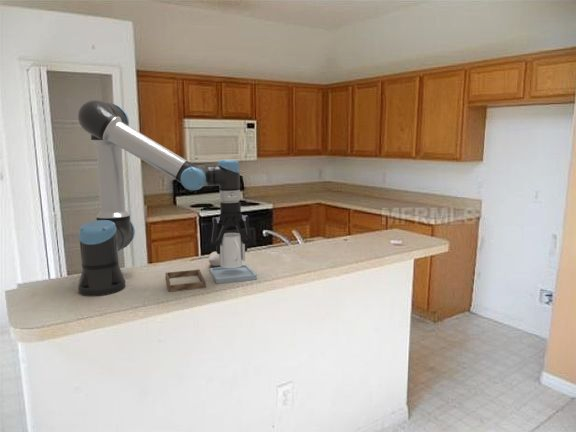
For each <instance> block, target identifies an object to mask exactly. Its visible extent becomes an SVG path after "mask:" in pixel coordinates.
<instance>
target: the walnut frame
mask: <svg viewBox="0 0 576 432" xmlns="http://www.w3.org/2000/svg"><path fill="white" fill-rule="evenodd" d="M190 275H194V276H197V277H198V279H199V281H197V282H188V283H178V284H177V283H175V284H171V281H170V279H174V277H175V278H182V277H181V276H185V277H191V276H190ZM165 280H166V285H167V289H168V290H167V291H168V293H169V292H176V291H177V292H178V291H186V290H194V289H202V288H206V284H207V283H206V280H205V278H204V276H203V274H202V272H201V270H200V269H199V268H198V269H190V270H180V271H178V270H177V271H172V272H171V271H169V272H165Z"/></svg>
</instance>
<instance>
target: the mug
mask: <svg viewBox="0 0 576 432" xmlns="http://www.w3.org/2000/svg"><path fill="white" fill-rule="evenodd" d="M241 243H242V238H241V235H240V234H239V232H225V233H224V236H223V239H222V241H221V244H220V245H222V253H223V263H221V264H220V265H219V267H222V268H238V267H241V266H242V265H244V263H243V260H242V248H241Z"/></svg>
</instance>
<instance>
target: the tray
mask: <svg viewBox="0 0 576 432" xmlns="http://www.w3.org/2000/svg"><path fill="white" fill-rule="evenodd" d="M209 274H210V276H211V277H212V279H213V280H214V282H215V283H216V285H220V284H221V285H222V284H229V283H237V282H246V281H256V280H257V279H258V277H257V276H258V275H257V273H256V272H255V271H254V270H253V269H252V268H251V267H250V266H249V265H248V264H243V265H242V266H241V267H238V268H222V267H221V266H217V267H211V268H209Z"/></svg>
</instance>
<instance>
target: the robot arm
mask: <svg viewBox="0 0 576 432" xmlns="http://www.w3.org/2000/svg"><path fill="white" fill-rule="evenodd" d="M77 120H78V123H79V125H80V126H81V128H82V129H83V130H84V132H86V133H87V134H90V141H91V142H92V144H94V145H95V146H96V148H95V149H96V162H97V175H98V176H97V177H98V178H97V179H98V192H99V193H98V194H99V205H100V206H99V207H100V209H99V210H100V211H99V212H98V214H96V216H95V217H96V220H93V221H88V222H86V223H84V224H82V225H81V226H80V227H79V230H78V240H79V249H80V259H81V260H80V261H81V274H80V277H79V281H78V285H77V288H78V289H77V290H78V294H80V295H83V296H88V297H89V296H92V297H95V296H96V297H97V296H107V295H111V294H113V293H114V294H115V293H117V292H120V291H123V290H124V289H125V288H126V279H125V276H124V275H123V272H122V270H121V268H120V265H119V264H120V263H119V251H121V250H122V249H124V248H127V247H128V246H129V245H130V244H131V242H133V240H134V238H135V232H136V230H135V226H134V223H133V222H132V221H131V214H130V213H129V212H128V211H127V210H126V201H125V184H124V183H125V182H124V166H123V150H124V151H126V152H128V153H129V154H130V155H133V156H135V157H136V158H138V159H140V160H141V161H143V162H145V163H147V164H149V166H152V167H154V168H155V169H157V170H158V171H160V172H161V173H162V172H163V173H164V174H166V175H167V176H169V177H171V178H172V179H174V180H175V181H177V182H179V183H180V184H181V185H182V186H183V188H184V189H186V190H189V191H199V190H201V189H202V188H204V187H216V186H219V200H220V203H219V205H220V206H219V207H220V214H219V216H218V217H217V216H216V217H212V219H211V220H212V230H211V231H212V232H211V237H210V243H211V244H212V245H214V246H215V247H216V248H215V249H216V251H215V252H217V254H219V259H220V263H223V253H222V245H220V244H221V241H222V239H223V236H224V234H225V233H226V231H227V229H228V228H230V227H235V228H236V230H237V233H239V234H240V235H241V241H242V242H241V248H242V262H243V261H246V252H248V243H249V242H252V241H253V239H252V232H251V228H250V224H249V223H250V222H249V221H250V216H249V215H247V214H246V215H243V214H242V209H241V208H242V207H241V204H242V203H241V176H240V174H241V173H240V162H239V161H238V160H237V159H219V160H218V163H217V164H215V165H196V164H194V163H192V162H191V161H188V160H186V159H185V158H183V157H182V156H180V155H178V154H177V153H175V152H173V151H172V150H170V149H168V148H167V147H165V146H164V145H161V144H160V143H158V142H156V141H155V140H153V139H152V138H149V137H148V136H147V135H145V134H143V133H141V132H139V131H138V130H136V129H135V128H133V127H131V126H129V125H130V121H129V116H128V114H127V113H126V111H125V110H124V109H123V108H122V107H121V106H119V105H117V104H115V103H113V102H112V103H111V102H107V101H106V102H105V101H102V100H97V99H95V100H89V101H86V102H85V103H83V104H82V105H81V106H80V108H79V110H78V112H77ZM122 149H123V150H122ZM241 220H242V221H243V224H244V228H245V233H244V232H243V229H242V228H241V224H240V221H241ZM220 221H221V223H222V225H221V228H220V230H219V234H218V236H217V232H218V224H219V222H220ZM245 234H246V236H245Z"/></svg>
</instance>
